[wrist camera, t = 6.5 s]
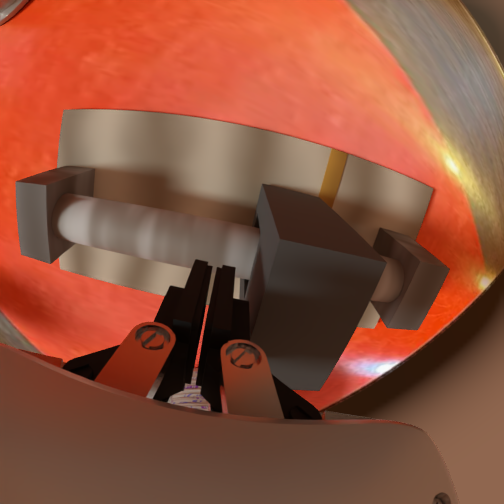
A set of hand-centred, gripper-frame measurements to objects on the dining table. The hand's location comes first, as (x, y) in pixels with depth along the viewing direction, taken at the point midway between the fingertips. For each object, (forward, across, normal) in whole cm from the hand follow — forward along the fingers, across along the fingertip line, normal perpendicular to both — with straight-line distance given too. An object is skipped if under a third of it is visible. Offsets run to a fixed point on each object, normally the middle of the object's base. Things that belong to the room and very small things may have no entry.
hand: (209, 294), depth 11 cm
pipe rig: (+10, 0, 0) cm, 10 cm away
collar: (+8, -4, 0) cm, 9 cm away
